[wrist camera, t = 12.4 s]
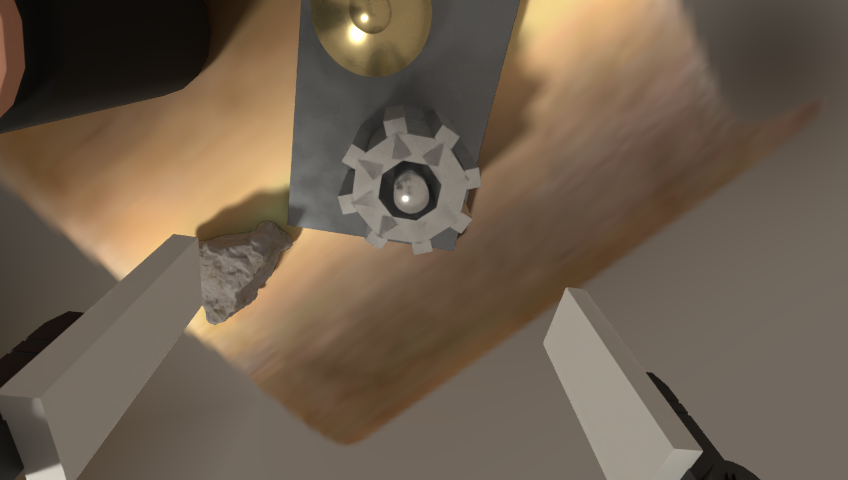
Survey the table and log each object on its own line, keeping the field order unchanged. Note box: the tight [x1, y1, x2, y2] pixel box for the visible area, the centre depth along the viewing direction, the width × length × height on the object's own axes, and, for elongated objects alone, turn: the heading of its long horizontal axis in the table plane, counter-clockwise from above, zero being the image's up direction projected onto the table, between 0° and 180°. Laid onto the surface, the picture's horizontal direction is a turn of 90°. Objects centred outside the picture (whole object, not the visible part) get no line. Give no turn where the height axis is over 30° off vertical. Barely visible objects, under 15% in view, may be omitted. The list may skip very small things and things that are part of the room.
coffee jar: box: [0, 0, 211, 134], centre depth 21 cm, size 11×11×18 cm
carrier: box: [288, 0, 520, 251], centre depth 29 cm, size 22×15×8 cm
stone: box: [198, 221, 293, 325], centre depth 35 cm, size 10×8×6 cm
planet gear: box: [338, 104, 481, 255], centre depth 31 cm, size 10×10×6 cm
